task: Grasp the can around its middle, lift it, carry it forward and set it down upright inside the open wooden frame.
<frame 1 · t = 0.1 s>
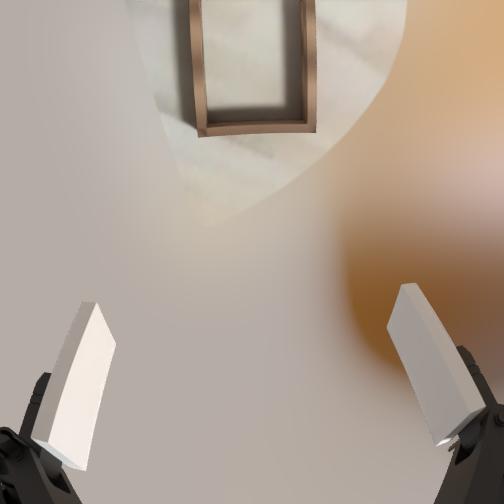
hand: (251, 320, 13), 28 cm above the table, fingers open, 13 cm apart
open wooden frame: (253, 59, 30), on the table
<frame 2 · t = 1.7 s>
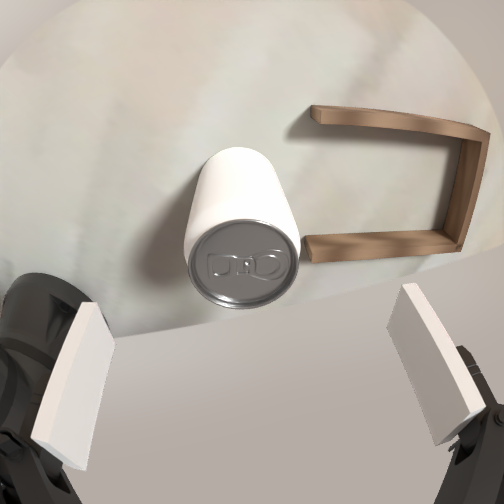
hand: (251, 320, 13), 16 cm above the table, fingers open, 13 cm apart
open wooden frame: (395, 180, 26), on the table
can: (237, 181, 26), on the table
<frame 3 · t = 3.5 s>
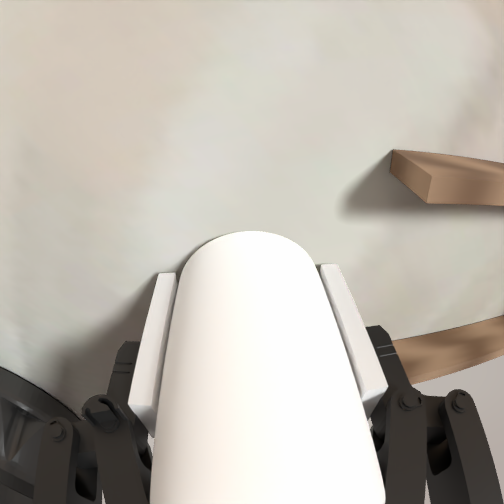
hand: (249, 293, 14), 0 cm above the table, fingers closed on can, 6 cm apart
open wooden frame: (485, 265, 15), on the table
can: (248, 283, 15), on the table, touching gripper
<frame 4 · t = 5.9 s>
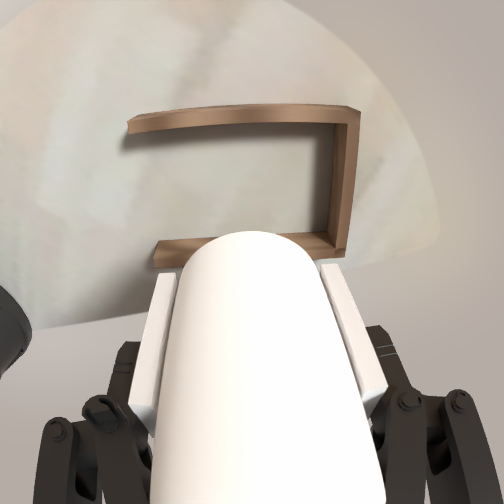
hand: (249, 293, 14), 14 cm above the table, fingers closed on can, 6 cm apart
open wooden frame: (246, 179, 26), on the table
can: (248, 283, 15), point 14 cm above the table, touching gripper
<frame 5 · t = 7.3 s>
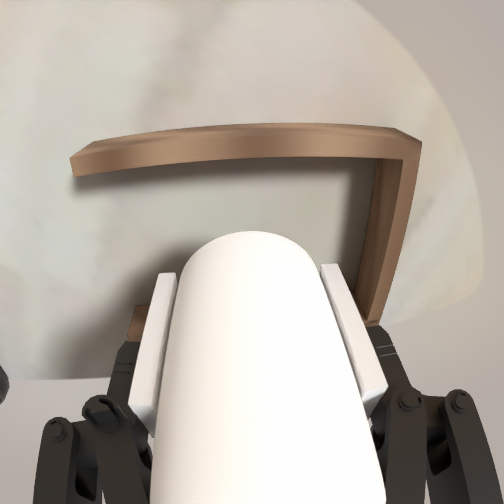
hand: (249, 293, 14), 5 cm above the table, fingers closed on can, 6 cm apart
open wooden frame: (250, 232, 19), on the table
can: (248, 283, 15), point 5 cm above the table, touching gripper
when the fingers open (2 cm above the table, at t = 8.4 s): can drops 1 cm, resting in open wooden frame.
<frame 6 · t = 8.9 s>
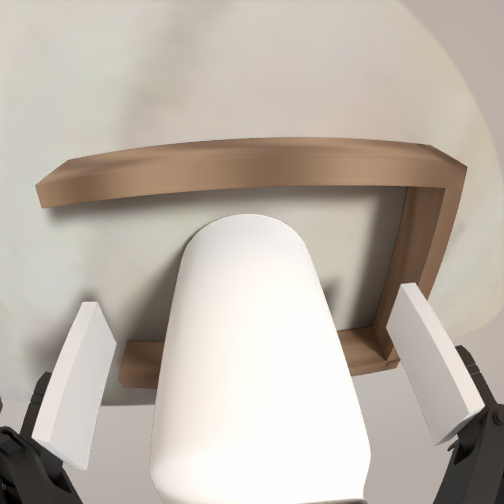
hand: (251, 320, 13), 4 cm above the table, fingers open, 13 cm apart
open wooden frame: (257, 266, 16), on the table
can: (245, 264, 16), resting in open wooden frame
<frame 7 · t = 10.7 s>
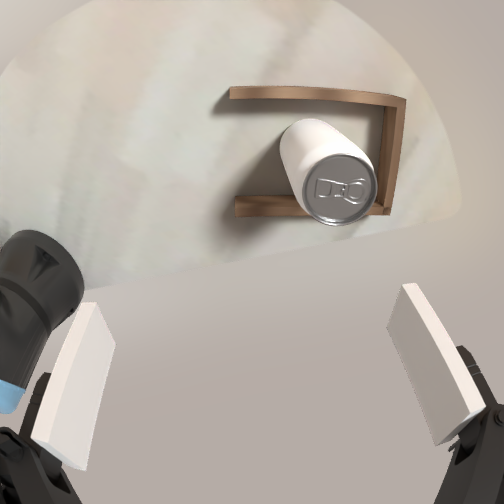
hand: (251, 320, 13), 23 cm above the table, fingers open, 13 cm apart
open wooden frame: (315, 147, 31), on the table
can: (309, 146, 31), resting in open wooden frame
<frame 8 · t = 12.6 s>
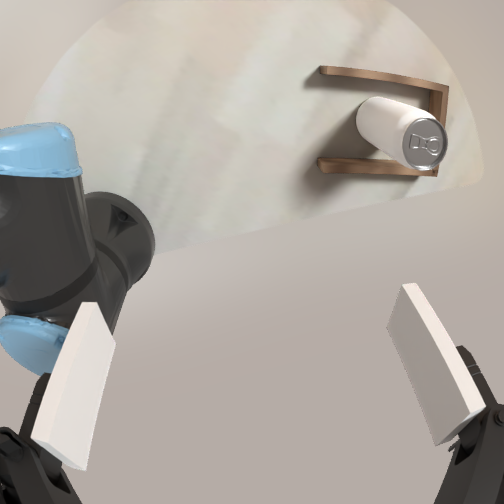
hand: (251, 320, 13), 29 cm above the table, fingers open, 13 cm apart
open wooden frame: (381, 120, 35), on the table
can: (376, 119, 35), resting in open wooden frame
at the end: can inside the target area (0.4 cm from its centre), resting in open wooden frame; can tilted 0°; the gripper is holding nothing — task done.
